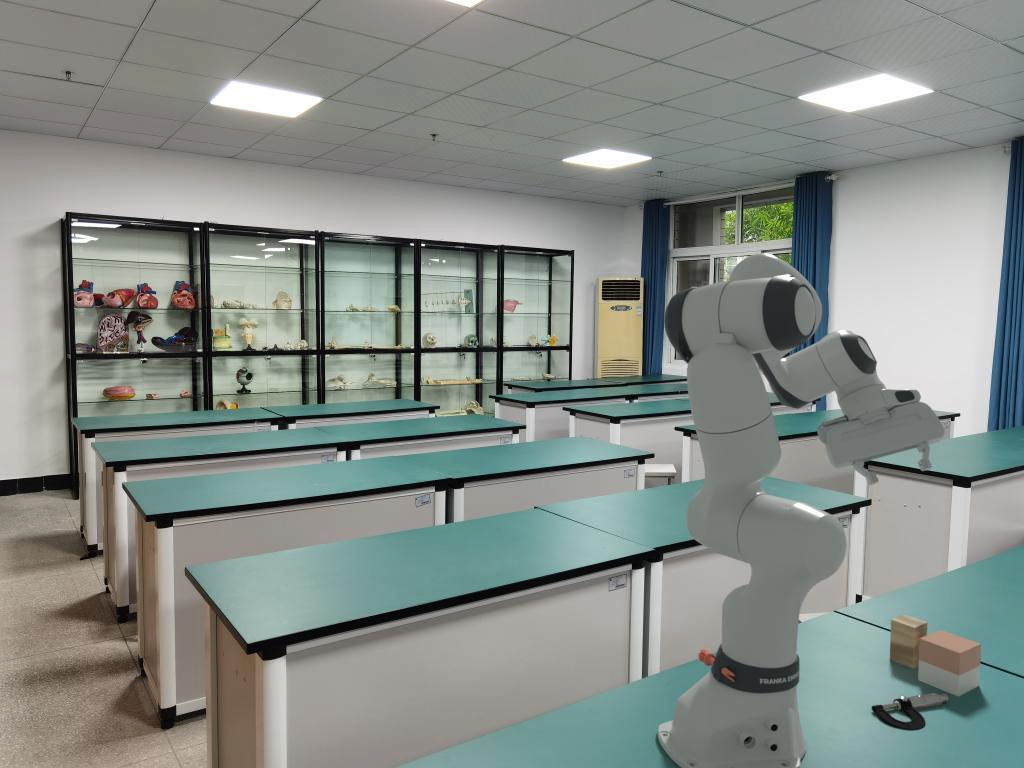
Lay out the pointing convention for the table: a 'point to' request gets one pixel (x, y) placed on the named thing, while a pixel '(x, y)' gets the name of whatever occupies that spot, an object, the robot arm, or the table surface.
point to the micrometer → (909, 710)
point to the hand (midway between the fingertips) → (900, 476)
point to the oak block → (906, 640)
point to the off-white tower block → (948, 678)
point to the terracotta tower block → (950, 652)
